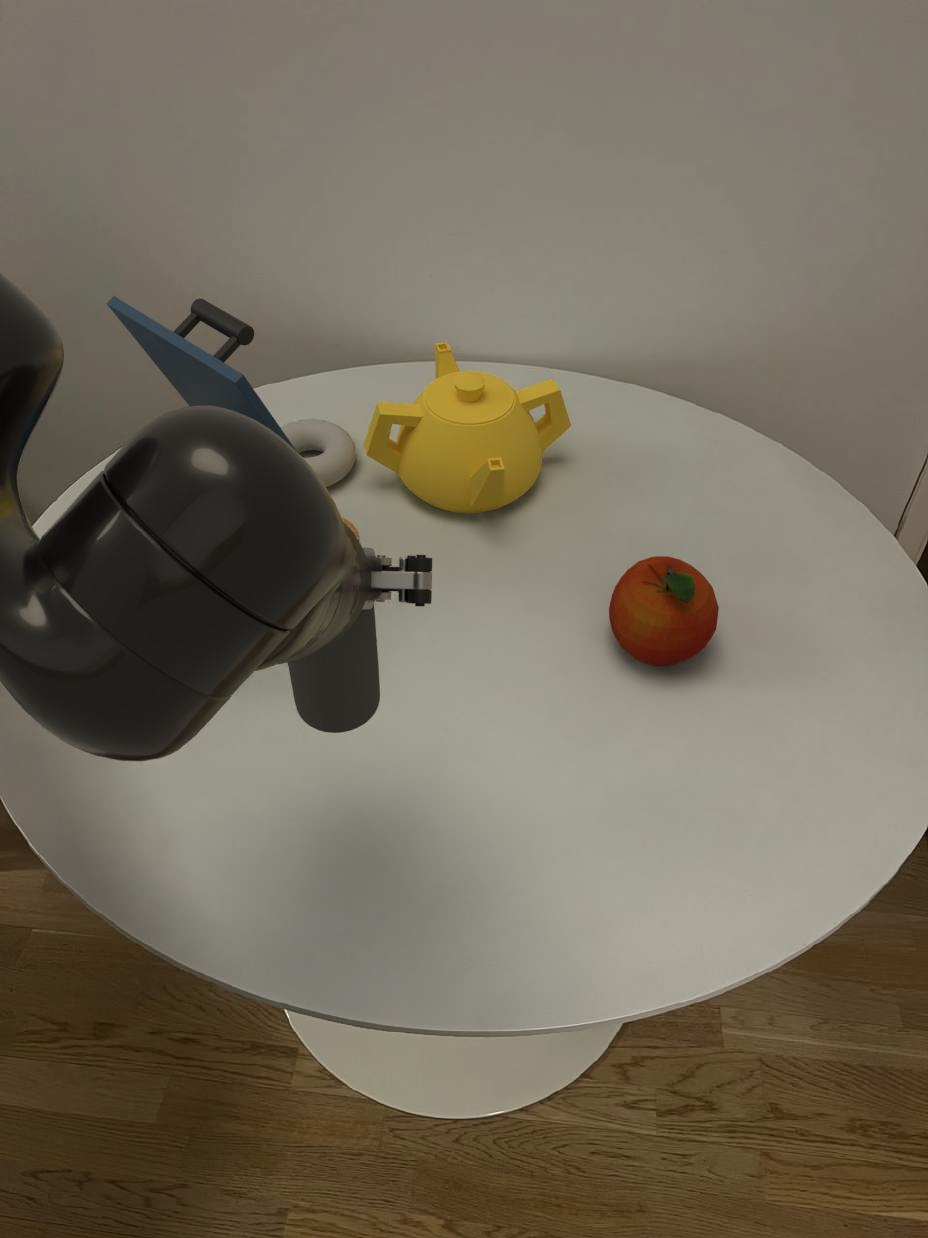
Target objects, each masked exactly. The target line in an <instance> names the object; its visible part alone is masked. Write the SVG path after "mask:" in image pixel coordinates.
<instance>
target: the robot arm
mask: <svg viewBox="0 0 928 1238" xmlns="http://www.w3.org/2000/svg"><path fill="white" fill-rule="evenodd" d="M64 360H65V351H64V344H63V341H62V338H61V335H60V333H59V332H58V330H57V328H56V327H55V325H54V324H53V322H52V321H51V320H50V318H49V317H48V316H47V315H46V314H45V313H44V312H43V310H42V309H41V308H40V307H39V306H38V304H36V302H34V301H33V300H32V299H31V298H30V297H29V296H27V294H25V293H24V292H23V291H22V290H21V289H20V288H19V287H18V286H17V285H16V284H14V283H13V282H12V281H11V280H10V279H9V278H8V277H7V276H5V275H4V274H2V272H0V684H1V685H2V686H3V688H4V689H5V690H6V691H7V692H8V694H9V695H10V696H11V697H12V699H13V700H14V701H15V702H16V703H17V705H19V706H20V708H21V709H22V710H23V711H24V712H25V713H26V714H27V715H28V716H29V717H31V719H32V720H33V721H35V723H37V724H38V725H39V726H40V727H42V728H43V729H44V730H45V731H47V732H48V733H49V734H51V735H53V736H54V737H56V738H57V739H59V740H60V741H62V742H64V744H67V745H69V746H71V747H73V748H75V749H78V750H79V751H82V752H85V753H87V754H89V755H92V756H96V757H101V758H105V759H109V760H116V761H122V762H148V761H153V760H158V759H159V760H160V759H162V758H165V757H168V756H170V755H172V754H174V753H176V752H177V751H179V750H180V749H182V748H183V747H184V746H185V745H186V744H188V743H189V742H190V741H191V740H193V739H194V738H195V737H196V736H197V735H198V734H199V733H200V732H201V731H202V730H203V728H205V726H206V725H208V724H209V722H210V721H211V720H212V719H213V718H214V717H215V715H217V714H218V713H219V711H221V709H222V708H223V707H224V706H225V704H227V702H229V700H230V699H231V697H232V696H233V695H234V694H235V692H237V690H238V689H239V688H240V687H242V685H243V684H244V683H245V682H246V681H247V680H248V678H250V677H251V675H252V674H253V673H254V672H257V671H262V670H264V669H268V668H271V667H274V666H277V665H282V664H288V662H292V661H295V660H298V659H301V658H304V657H306V656H308V655H310V654H312V653H314V652H316V651H318V650H319V649H321V648H323V647H325V646H327V645H329V644H331V643H332V642H334V641H335V640H337V639H338V638H340V637H341V636H342V635H343V634H344V633H345V632H346V631H347V630H348V629H349V628H350V627H351V626H352V625H353V623H354V622H355V621H356V619H357V618H358V616H359V614H360V612H361V610H363V609H371V608H372V607H373V605H374V606H375V602H376V603H385V602H386V601H390V600H392V592H398V599H397V600H398V603H405V604H414V606H415V607H425V606H426V605H431V604H432V595H433V594H432V593H433V591H432V589H433V557H427V554H416V555H407V556H405V557H399V559H398V566H393V565H392V563H393V562H392V561H393V559H392V557H387V555H386V554H377V555H376V552H375V550H374V548H372V547H363V546H362V544H361V541H360V542H359V540H358V539H357V537H356V536H355V534H354V533H353V532H352V530H351V529H350V528H349V527H348V526H347V525H346V524H345V523H344V522H343V520H342V518H343V517H342V515H341V513H340V511H339V508H338V506H337V504H336V502H335V500H334V499H333V497H332V495H331V493H330V492H329V490H328V488H327V487H325V485H324V483H323V482H322V481H321V479H320V478H319V476H318V475H317V474H316V472H315V471H314V470H313V469H312V467H311V466H310V465H309V464H308V463H307V462H306V461H305V459H304V458H305V457H303V456H302V455H301V454H300V453H298V452H297V451H296V450H295V449H294V448H292V447H291V446H290V445H289V444H288V443H287V442H286V441H285V440H284V439H282V438H281V437H280V436H279V435H277V434H276V433H275V432H273V431H272V430H271V429H269V428H268V427H266V426H264V425H263V424H261V423H259V422H258V421H256V420H254V419H252V418H250V417H247V416H245V415H243V414H240V413H238V412H236V411H233V410H230V409H225V408H221V407H217V406H209V405H201V406H189V405H188V406H185V407H181V408H177V409H174V410H171V411H168V412H166V413H163V414H161V415H159V416H157V417H155V418H153V419H152V420H151V421H149V422H148V423H147V424H145V425H144V426H143V427H141V428H140V429H139V430H138V431H136V433H134V434H133V435H132V436H131V437H130V438H129V439H128V440H127V441H126V442H125V443H124V444H123V446H122V447H121V448H120V449H119V450H117V452H116V453H115V455H114V456H113V457H112V458H111V459H110V460H109V461H108V462H107V463H106V464H105V466H104V468H103V470H102V471H100V472H99V473H98V474H97V475H96V476H95V477H94V478H93V479H92V480H91V482H90V483H89V484H88V485H87V487H86V488H84V489H83V490H82V492H81V493H80V494H79V495H78V496H77V497H76V498H75V500H73V502H72V503H70V505H69V506H68V507H67V508H66V509H65V511H63V513H61V515H60V516H59V517H58V518H57V519H56V520H55V521H54V523H52V525H51V526H50V527H49V528H48V529H47V530H46V531H45V532H44V534H43V535H42V536H41V537H39V536H38V533H36V531H35V529H34V527H33V526H32V523H31V522H30V519H29V518H28V516H27V513H26V510H25V507H24V505H23V502H22V498H21V494H20V490H19V481H18V474H19V468H20V465H21V462H22V458H23V454H24V451H25V450H26V447H27V445H28V443H29V441H30V439H31V437H32V434H33V432H34V430H35V429H36V426H37V425H38V423H39V421H40V420H41V418H42V416H43V414H44V411H45V409H46V408H47V406H48V404H49V401H50V400H51V399H52V396H53V395H54V392H55V389H56V387H57V385H58V383H59V381H60V378H61V375H62V371H63V368H64ZM341 517H342V518H341Z"/></svg>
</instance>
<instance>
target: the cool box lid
mask: <svg viewBox="0 0 928 1238" xmlns="http://www.w3.org/2000/svg"><path fill="white" fill-rule="evenodd" d="M106 305H107V307H108V308H109V309H110V310H111V311H112V312H113V314H114V315H115V316H116V318H118V320H119V322H121V324H122V325H123V326H124V327H125V329H126V330H127V331H128V332H129V333H130V334H131V336H132V337H133V339H134V340H135V341H136V342H137V344H138V345H139V346H140V347H141V348H142V350H143V351H144V352H145V353H146V354H147V356H148V357H149V358H150V359H151V361H152V362H153V363H154V364H155V366H156V367H157V368H158V369H159V370H160V372H161V373H162V374H163V376H164V377H165V378H166V379H167V380H168V381H169V383H170V384H171V386H172V387H173V388H174V389H175V390H176V392H177V393H178V394H179V395H180V396H181V398H182V399H183V400H184V401H185V403H186V404H187V405H188V406H201V405H209V406H217V407H221V408H225V409H230V410H233V411H236V412H238V413H240V414H243V415H245V416H247V417H250V418H252V419H254V420H256V421H258V422H259V423H261V424H263V425H264V426H266V427H268V428H269V429H271V430H272V431H273V432H275V433H276V434H277V435H279V436H280V437H281V438H282V439H284V440H285V441H286V442H287V443H288V444H289V445H290V446H291V447H292V448H294V446H293V445H292V443H291V442H290V441H289V439H288V438H287V436H286V435H285V433H284V432H283V431H282V429H281V428H280V427H281V426H280V425H279V423H278V422H277V420H276V419H275V418H274V416H273V415H272V413H271V412H270V410H269V409H268V408H267V407H266V405H265V403H264V402H263V400H262V399H261V398H260V396H259V395H258V393H257V392H256V391H255V389H254V388H253V386H252V384H251V383H250V382H249V380H248V379H247V378H246V376H245V374H243V373H242V372H240V371H238V370H236V369H235V368H233V367H231V366H230V365H228V364H226V363H225V362H227V360H228V359H230V357H231V356H232V355H233V354H234V353H235V352H236V351H237V350H238V348H239V347H240V346H245V347H246V346H248V345H250V344H251V343H252V342H253V341H254V338H255V330H254V328H253V326H251V325H249V324H248V323H246V322H244V321H243V320H240V319H239V318H237V317H235V316H234V315H232V314H230V313H228V312H227V311H225V310H223V309H221V308H219V307H218V306H216V305H214V304H213V303H210V302H209V301H207V300H206V299H204V298H197V299H195V300H194V301H193V302H192V303H191V304H190V305H191V306H190V313H189V314H188V315H187V316H186V318H185V319H184V320H182V322H181V323H179V325H178V326H177V327H176V328H175V329H174V330H171V329H169V328H168V327H166V326H164V325H163V324H161V323H159V322H158V321H156V320H155V319H153V318H151V317H149V316H148V315H146V314H144V313H143V312H141V311H139V310H138V309H137V308H135V307H133V306H131V305H130V304H128V303H127V302H125V301H124V300H122V299H119V298H118V297H117V296H115V295H113V296H112V297H111V298H110V299H109V300H108V301H107V302H106ZM200 322H201V323H204V324H205V325H206V326H208V327H210V328H212V329H214V330H215V331H216V332H219V333H220V334H222V335H223V336H225V337H227V338H228V340H226V341H225V343H223V345H222V346H221V347H220V348H219V349H218V350H217V351H216V352H215V353H214V354H213V355H212V354H210V353H209V352H207V351H205V350H204V349H202V348H201V347H199V346H197V345H195V344H194V343H192V342H191V341H189V340H187V339H186V338H187V336H189V334H190V333H191V332H192V331H193V330H194V328H196V326H198V324H199V323H200ZM294 449H295V448H294ZM295 450H296V449H295Z"/></svg>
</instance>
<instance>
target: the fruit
mask: <svg viewBox="0 0 928 1238" xmlns="http://www.w3.org/2000/svg"><path fill="white" fill-rule="evenodd" d="M719 609H720V607H719V604H718V600H717V597H716V594H715V590H714V588H713V586H712V584H711V583H710V582H709V580H708V579H707V578H706V577H705V575H704V574H703V573H702V572H701V571H700V570H698V569H697V568H695V567H694V566H693V565H692V564H690V563H688V562H686V561H684V560H681V559H679V558H676V557H672V556H666V555H665V556H664V555H663V556H662V555H658V556H657V555H656V556H651V557H647V558H645V559H642V560H639V561H637V562H636V563H634V564H633V565H632V566H630V567H629V568H628V569H627V570H626V571H625V572H624V573H623V574H622V576H621V577H620V578H619V580H618V582H617V583H616V585H615V586H614V589H613V592H612V594H611V598H610V601H609V606H608V619H609V623H610V628H611V632H612V634H613V636H614V638H615V640H616V641H617V643H618V645H619V646H620V647H621V649H622V650H624V651H625V652H626V653H627V654H629V656H630V657H632V658H634V660H637V661H639V662H641V663H644V664H646V665H651V666H657V667H662V666H663V667H664V666H673V665H676V664H679V663H682V662H683V663H684V662H686V661H689V660H691V659H692V658H693V657H695V656H696V655H698V654H699V653H700V652H702V651H704V649H705V648H706V647H707V646H708V644H709V643H710V641H711V640H712V638H713V636H714V634H715V633H716V630H717V628H718V627H717V626H718V620H719Z"/></svg>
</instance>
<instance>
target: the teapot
mask: <svg viewBox="0 0 928 1238" xmlns="http://www.w3.org/2000/svg"><path fill="white" fill-rule="evenodd" d="M434 360H435V361H434V362H435V363H434V365H435V366H434V367H435V379H433V380H432V381H431V382H429V384H428V385H427V386H426V387H425V388H424V389H423V390H422V391H421V392H420V394H419V395H418V396H417V397H416V399H415V400H414V402H413V403H407V402H406V403H405V402H391V401H390V402H389V401H377V402H376V405H375V409H374V411H373V414H372V418H371V421H370V423H369V425H368V426H369V427H368V429H367V433H366V436H365V439H364V442H363V444H364V450H365V455H366V456H367V457H368V458H370V459H372V460H374V461H375V462H377V463H379V464H380V465H382V466H383V467H385V468H387V469H389V470H391V471H392V472H394V473H396V474H397V475H398V476H399V478H400V480H401V481H402V483H403V485H404V486H405V487H406V488H407V489H408V490H409V491H410V492H411V493H412V494H414V495H415V496H416V497H418V498H419V499H420V500H422V501H423V502H425V503H427V504H429V505H430V506H433V507H435V508H436V509H440V510H442V511H446V512H450V513H455V514H481V513H487V512H491V511H494V510H498V509H501V508H502V507H504V506H506V505H509V504H510V503H512V502H514V501H516V500H517V499H519V498H520V497H521V496H523V495H524V494H525V493H527V492H528V491H529V490H530V489H531V488H532V487H533V486H534V484H535V482H536V481H537V479H538V477H539V475H540V473H541V470H542V466H543V465H542V464H543V463H542V462H543V453H544V452H545V451H546V450H547V449H548V448H549V447H550V446H551V445H552V444H553V443H554V442H556V441H557V440H558V439H559V438H560V437H561V436H562V435H563V434H565V432H566V431H568V430H569V429H570V428H571V427H572V424H571V421H570V417H569V413H568V411H567V408H566V404H565V401H564V398H563V394H562V391H561V388H560V387H559V386H558V383H557V382H556V381H555V379H554V378H550V379H547V380H544V381H540V382H538V383H535V384H532V385H530V386H526V387H524V388H521V389H517V390H515V389H514V388H513V387H512V386H511V385H510V384H509V383H508V382H507V381H505V380H504V379H503V378H500V377H498V376H496V375H495V374H493V373H492V374H491V373H488V372H484V371H478V370H460V368H459V366H458V364H457V361H456V359H455V357H454V355H453V352H452V348H451V346H450V345H449V343H448V341H443V342H442V341H441V342H436V343H435V342H434ZM541 406H544V411H545V413H544V414H543V415H542V416H541V417H540V418H538V420H537V421H535V420H534V417H533V416H532V414H531V411H532V410H535V409H537V408H539V407H541ZM393 425H397V426H398V425H399V430H398V433H397V437H396V441H394V440H392V439H390V435H391V431H392V427H393Z"/></svg>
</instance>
